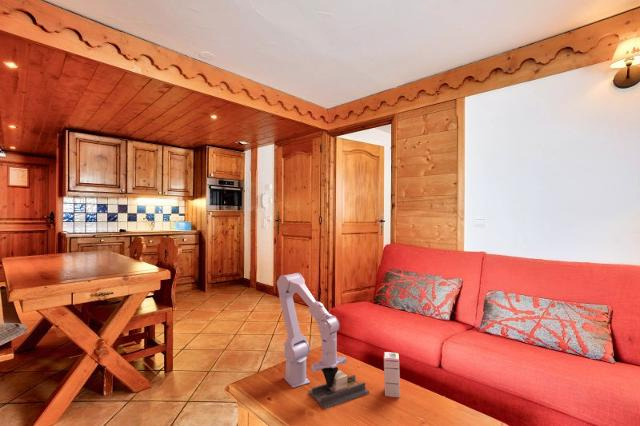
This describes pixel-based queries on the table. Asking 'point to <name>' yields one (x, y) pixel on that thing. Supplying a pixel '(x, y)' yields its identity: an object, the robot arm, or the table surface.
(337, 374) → the block
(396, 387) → the syrup box
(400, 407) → the table surface
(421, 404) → the table surface
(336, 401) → the chute
